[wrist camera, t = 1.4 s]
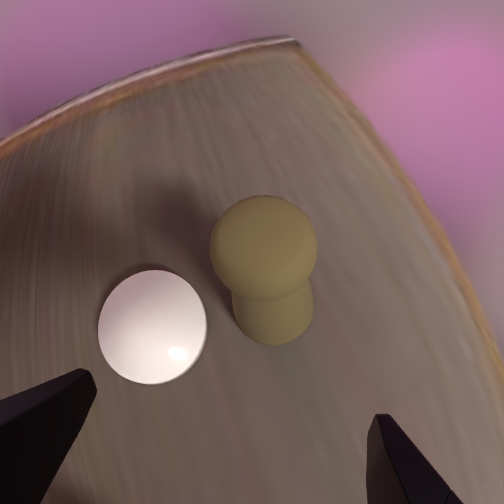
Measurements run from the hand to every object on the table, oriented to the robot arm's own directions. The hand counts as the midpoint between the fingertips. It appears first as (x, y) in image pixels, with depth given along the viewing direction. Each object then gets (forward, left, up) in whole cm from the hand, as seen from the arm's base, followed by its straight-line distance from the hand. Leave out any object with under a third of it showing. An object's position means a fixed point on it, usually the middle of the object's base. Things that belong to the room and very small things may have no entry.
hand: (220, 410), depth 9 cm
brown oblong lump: (+6, +4, -14) cm, 16 cm away
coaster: (-1, +10, -14) cm, 17 cm away
